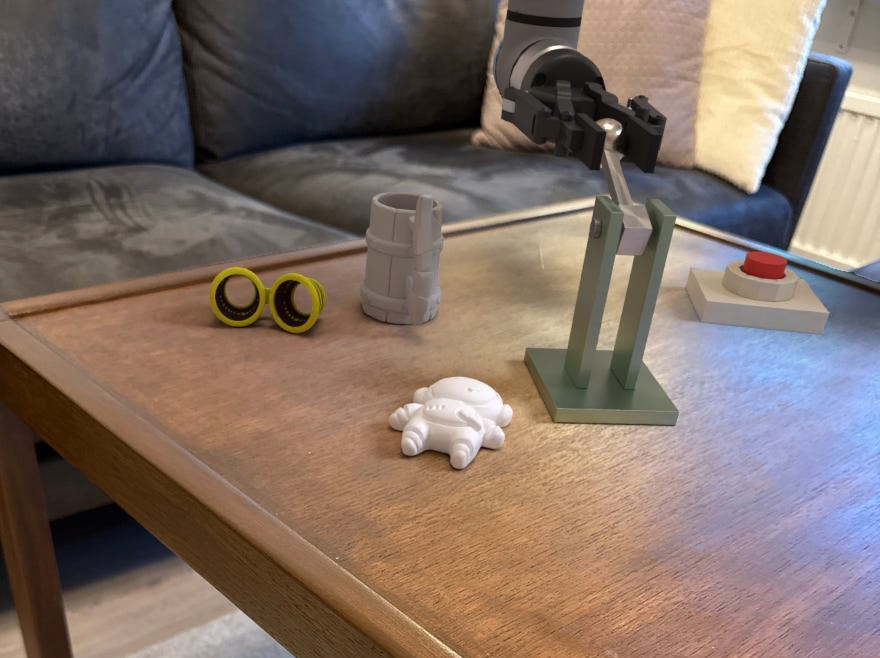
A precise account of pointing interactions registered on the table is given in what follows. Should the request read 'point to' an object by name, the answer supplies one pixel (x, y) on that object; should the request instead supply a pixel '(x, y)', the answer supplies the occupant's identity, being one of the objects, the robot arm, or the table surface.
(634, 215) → the lever
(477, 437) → the astronaut figurine
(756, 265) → the button
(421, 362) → the table surface
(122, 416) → the table surface
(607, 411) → the bracket
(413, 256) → the mug
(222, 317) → the opera glasses
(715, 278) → the box
